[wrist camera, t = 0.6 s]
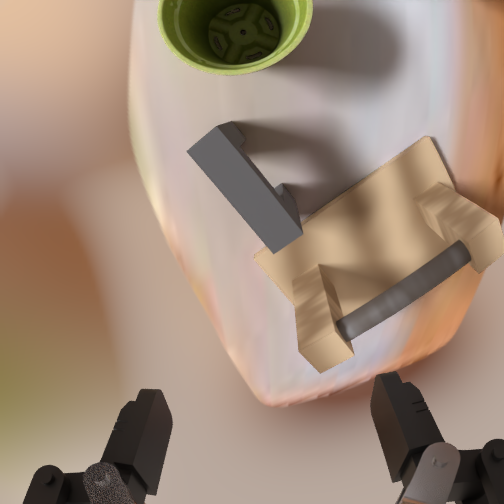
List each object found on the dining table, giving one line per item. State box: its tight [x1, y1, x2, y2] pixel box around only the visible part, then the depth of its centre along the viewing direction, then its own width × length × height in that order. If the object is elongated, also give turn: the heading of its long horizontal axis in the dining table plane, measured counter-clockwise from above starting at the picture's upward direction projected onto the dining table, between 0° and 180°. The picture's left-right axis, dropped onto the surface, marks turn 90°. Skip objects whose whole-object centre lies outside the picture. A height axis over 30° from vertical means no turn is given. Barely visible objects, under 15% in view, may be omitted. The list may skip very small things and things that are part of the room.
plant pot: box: [157, 0, 313, 75], centre depth 19 cm, size 9×9×9 cm
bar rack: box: [254, 136, 504, 373], centre depth 25 cm, size 20×11×11 cm, turn 128°
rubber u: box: [186, 121, 303, 254], centre depth 24 cm, size 2×9×8 cm, turn 38°
